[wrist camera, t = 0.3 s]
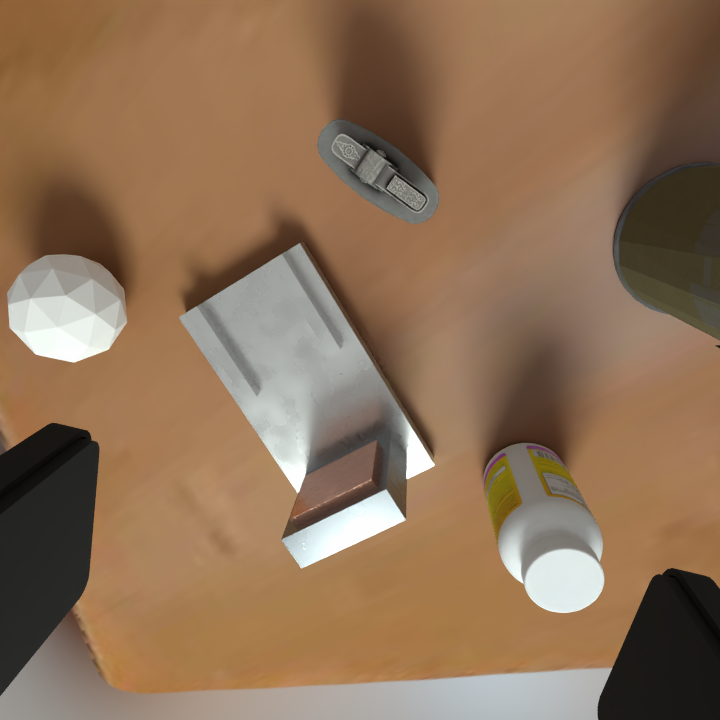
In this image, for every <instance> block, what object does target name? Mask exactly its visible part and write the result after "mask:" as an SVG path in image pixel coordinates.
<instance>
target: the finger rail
mask: <svg viewBox="0 0 720 720" xmlns="http://www.w3.org/2000/svg"><path fill="white" fill-rule="evenodd" d="M179 319H180V320H181V322H182V323H183V325H184V326H185V327H186V329H187V330H188V332H189V333H190V335H191V336H192V338H193V339H194V341H195V342H196V344H197V345H198V347H199V348H200V350H201V351H202V353H203V354H204V355H205V357H206V358H207V360H208V361H209V363H210V364H211V366H212V367H213V369H214V370H215V372H216V373H217V375H218V376H219V378H220V379H221V381H222V382H223V383H224V385H225V386H226V388H227V389H228V391H229V392H230V394H231V395H232V397H233V398H234V400H235V401H236V403H237V404H238V406H239V407H240V409H241V410H242V411H243V413H244V414H245V416H246V417H247V419H248V420H249V422H250V423H251V425H252V426H253V428H254V429H255V431H256V432H257V434H258V435H259V437H260V438H261V439H262V441H263V442H264V444H265V445H266V447H267V448H268V450H269V451H270V453H271V454H272V456H273V457H274V459H275V460H276V462H277V463H278V465H279V466H280V467H281V469H282V470H283V472H284V473H285V475H286V476H287V478H288V479H289V481H290V482H291V484H292V485H293V487H294V488H295V490H296V491H297V493H298V496H297V498H296V501H295V504H294V507H293V509H292V512H291V515H290V517H289V520H288V523H287V526H286V528H285V531H284V534H283V537H282V539H281V540H282V541H283V543H284V544H285V546H286V547H287V549H288V550H289V551H290V553H291V554H292V556H293V557H294V559H295V560H296V561H297V563H298V564H299V566H300V567H301V568H303V567H306V566H308V565H310V564H312V563H314V562H316V561H319V560H321V559H323V558H325V557H327V556H329V555H331V554H334V553H336V552H338V551H340V550H342V549H344V548H347V547H349V546H351V545H353V544H355V543H357V542H360V541H362V540H364V539H366V538H368V537H370V536H373V535H375V534H377V533H379V532H381V531H383V530H385V529H388V528H390V527H392V526H394V525H396V524H398V523H401V522H403V521H405V520H406V489H407V479H408V478H410V477H412V476H414V475H416V474H418V473H421V472H423V471H425V470H427V469H429V468H431V467H433V466H435V463H434V456H433V454H432V453H431V451H430V449H429V448H428V446H427V444H426V443H425V441H424V440H423V438H422V436H421V435H420V433H419V431H418V430H417V428H416V426H415V425H414V423H413V421H412V420H411V418H410V416H409V415H408V413H407V411H406V410H405V408H404V406H403V405H402V403H401V401H400V400H399V398H398V397H397V395H396V393H395V392H394V390H393V388H392V387H391V385H390V383H389V382H388V380H387V378H386V377H385V375H384V373H383V372H382V370H381V368H380V367H379V365H378V363H377V362H376V360H375V358H374V357H373V355H372V354H371V352H370V350H369V349H368V347H367V345H366V344H365V342H364V340H363V339H362V337H361V335H360V334H359V332H358V330H357V329H356V327H355V325H354V324H353V322H352V320H351V319H350V317H349V315H348V314H347V312H346V311H345V309H344V307H343V306H342V304H341V302H340V301H339V299H338V297H337V296H336V294H335V292H334V291H333V289H332V287H331V286H330V284H329V282H328V281H327V279H326V277H325V276H324V274H323V272H322V271H321V269H320V267H319V266H318V264H317V263H316V261H315V259H314V258H313V256H312V254H311V253H310V251H309V249H308V248H307V246H306V244H305V243H304V241H303V242H301V243H299V244H297V245H296V246H294V247H292V248H291V249H289V250H288V251H286V252H284V253H282V254H281V255H279V256H277V257H276V258H274V259H273V260H271V261H270V262H268V263H266V264H265V265H263V266H262V267H260V268H258V269H257V270H255V271H253V272H252V273H250V274H249V275H247V276H245V277H244V278H242V279H240V280H239V281H237V282H236V283H234V284H232V285H231V286H229V287H227V288H226V289H224V290H223V291H221V292H219V293H218V294H216V295H214V296H213V297H211V298H210V299H208V300H206V301H205V302H203V303H201V304H200V305H198V306H196V307H195V308H193V309H191V310H190V311H188V312H186V313H185V314H184V315H182V316H180V317H179Z"/></svg>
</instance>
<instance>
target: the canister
mask: <svg viewBox="0 0 720 720" xmlns="http://www.w3.org/2000/svg"><path fill="white" fill-rule="evenodd" d="M613 257H614V263H615V269H616V271H617V274H618V277H619V279H620V280H621V282H622V284H623V286H624V287H625V289H626V290H627V291H628V292H629V293H630V294H631V295H632V296H633V297H634V298H635V299H636V300H637V301H639V302H640V303H642V304H643V305H645V306H646V307H648V308H650V309H652V310H655V311H658V312H661V313H665V314H670V315H672V316H674V317H676V318H678V319H679V320H681V321H683V322H685V323H687V324H689V325H691V326H693V327H695V328H697V329H699V330H701V331H703V332H705V333H707V334H709V335H710V336H712V337H714V338H716V339H718V340H720V164H718V163H712V162H701V163H692V164H687V165H682V166H679V167H675V168H673V169H671V170H669V171H667V172H665V173H663V174H661V175H659V176H658V177H656V178H654V179H653V180H651V181H649V182H648V183H647V184H646V185H645V186H644V187H643V188H642V189H641V190H640V191H638V192H637V193H636V195H635V196H634V197H633V199H632V200H631V201H630V203H629V204H628V205H627V207H626V208H625V209H624V211H623V213H622V216H621V218H620V220H619V222H618V225H617V229H616V233H615V237H614V248H613ZM716 347H718V348H720V345H716Z"/></svg>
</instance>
